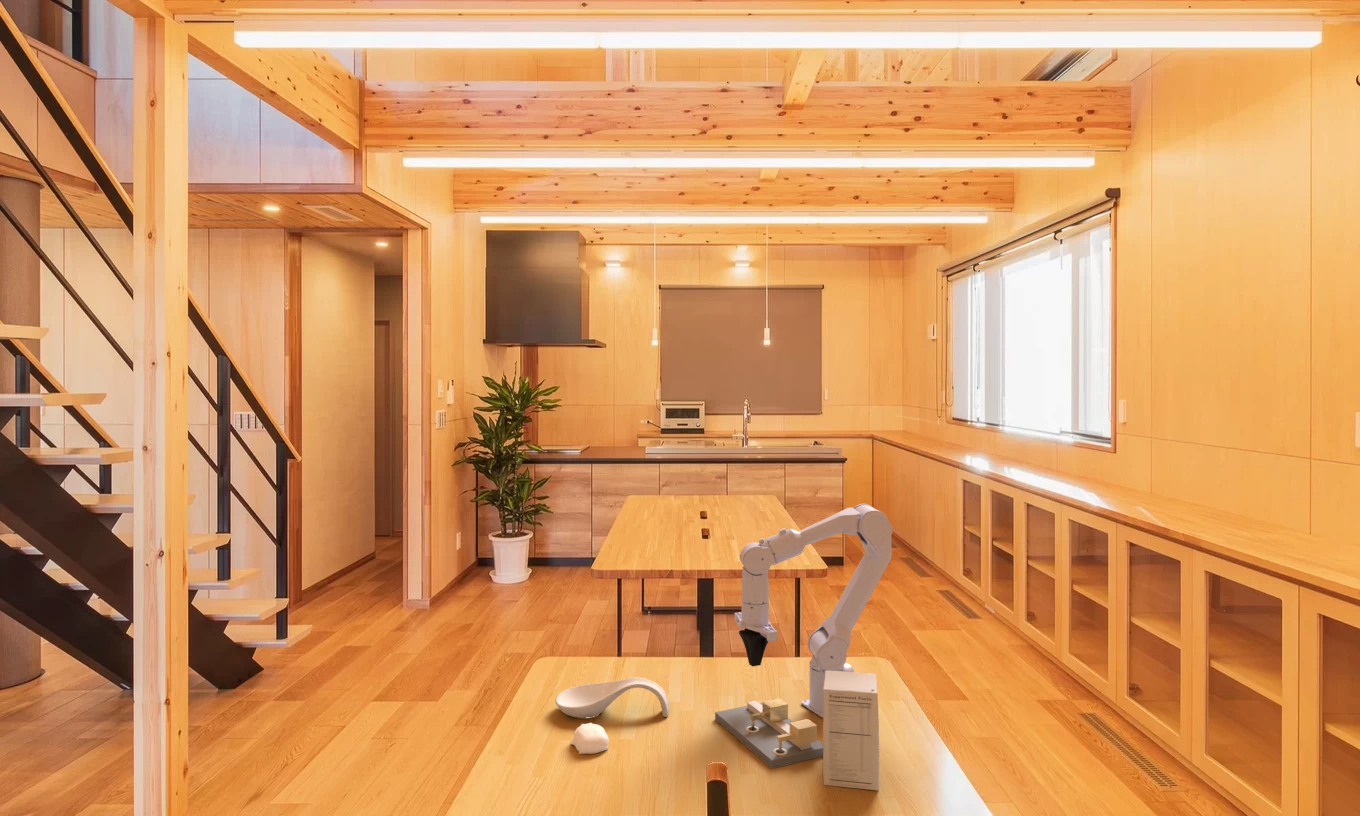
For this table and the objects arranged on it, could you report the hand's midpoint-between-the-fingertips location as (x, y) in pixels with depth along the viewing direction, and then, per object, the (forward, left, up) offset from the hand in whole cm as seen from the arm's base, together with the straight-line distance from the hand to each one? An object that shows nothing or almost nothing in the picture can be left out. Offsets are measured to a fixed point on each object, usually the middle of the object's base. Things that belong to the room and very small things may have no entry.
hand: (755, 664), depth 160 cm
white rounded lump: (+37, +1, -10) cm, 38 cm away
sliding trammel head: (+4, +11, -8) cm, 14 cm away
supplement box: (-1, +31, -10) cm, 32 cm away
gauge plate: (+4, +12, -9) cm, 16 cm away
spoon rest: (+28, -11, -10) cm, 32 cm away
